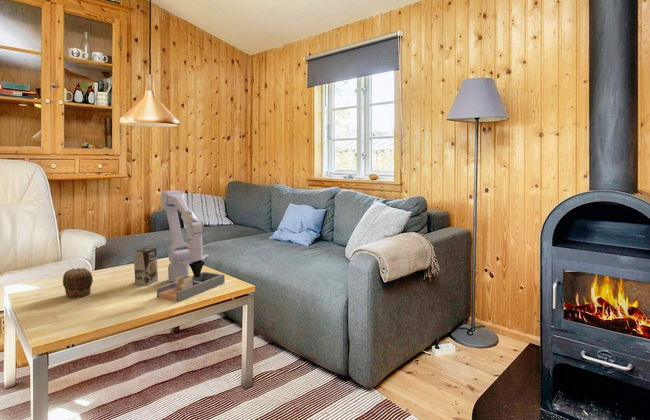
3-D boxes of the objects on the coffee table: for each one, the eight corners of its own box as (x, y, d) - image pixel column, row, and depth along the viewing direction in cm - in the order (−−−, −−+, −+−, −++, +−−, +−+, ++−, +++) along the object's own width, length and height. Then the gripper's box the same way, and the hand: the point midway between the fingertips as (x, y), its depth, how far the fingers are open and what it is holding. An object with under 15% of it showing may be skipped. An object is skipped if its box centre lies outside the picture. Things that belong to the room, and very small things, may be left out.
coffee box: (146, 286, 188) (145, 252, 186) (134, 285, 190) (132, 251, 188) (158, 280, 197) (157, 247, 195) (146, 279, 199) (145, 247, 197)
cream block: (175, 289, 178) (175, 278, 177) (184, 286, 182) (183, 275, 181) (184, 291, 175) (183, 279, 175) (192, 287, 180) (192, 276, 179)
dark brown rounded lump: (62, 301, 167) (60, 273, 166) (65, 293, 177) (63, 266, 176) (93, 297, 172) (91, 270, 171) (94, 290, 182) (92, 264, 181)
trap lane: (157, 297, 173) (156, 288, 173) (204, 279, 199) (204, 271, 199) (178, 301, 168) (178, 292, 167) (224, 282, 194) (224, 274, 194)
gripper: (191, 252, 176) (192, 282, 177) (213, 245, 189) (214, 274, 190) (178, 250, 179) (180, 280, 180) (201, 244, 192) (202, 272, 193)
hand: (197, 277), depth 185 cm, fingers closed
